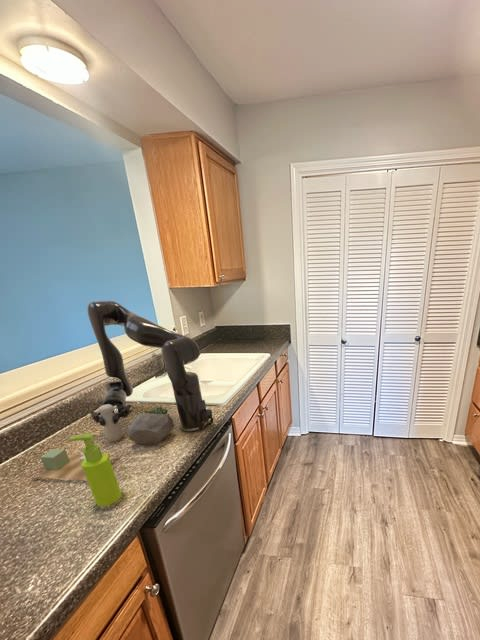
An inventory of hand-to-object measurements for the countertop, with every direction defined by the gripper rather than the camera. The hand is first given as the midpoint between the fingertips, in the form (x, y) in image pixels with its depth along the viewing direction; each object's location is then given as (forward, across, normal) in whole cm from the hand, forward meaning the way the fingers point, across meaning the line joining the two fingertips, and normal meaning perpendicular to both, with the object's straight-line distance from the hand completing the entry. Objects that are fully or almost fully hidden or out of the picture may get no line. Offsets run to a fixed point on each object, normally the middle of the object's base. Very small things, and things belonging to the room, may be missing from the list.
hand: (108, 422), depth 109 cm
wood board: (+11, -10, +9) cm, 17 cm away
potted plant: (+2, +13, +9) cm, 16 cm away
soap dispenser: (+33, +1, +9) cm, 34 cm away
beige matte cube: (+15, -4, +8) cm, 17 cm away
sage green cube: (+8, -15, +8) cm, 19 cm away
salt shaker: (-3, 0, +8) cm, 9 cm away
